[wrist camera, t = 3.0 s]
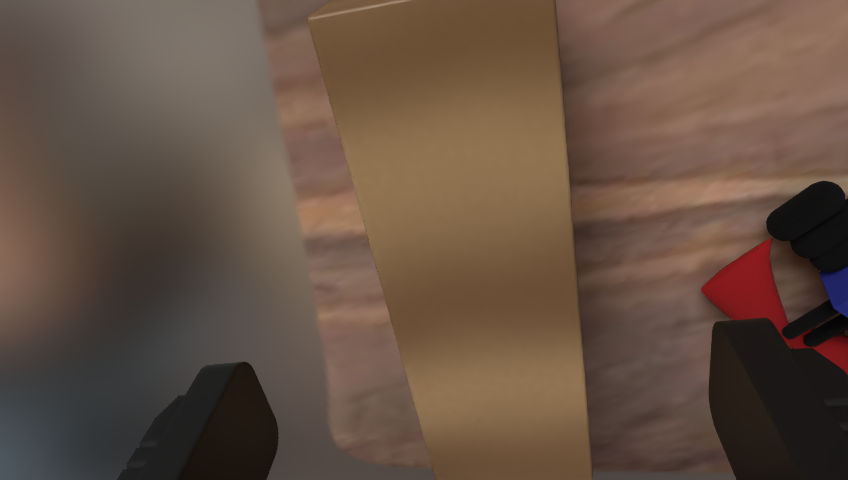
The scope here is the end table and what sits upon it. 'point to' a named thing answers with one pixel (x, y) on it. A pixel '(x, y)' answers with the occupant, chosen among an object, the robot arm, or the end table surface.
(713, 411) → the robot arm
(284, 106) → the end table surface
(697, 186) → the end table surface
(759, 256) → the toy figure
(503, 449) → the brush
